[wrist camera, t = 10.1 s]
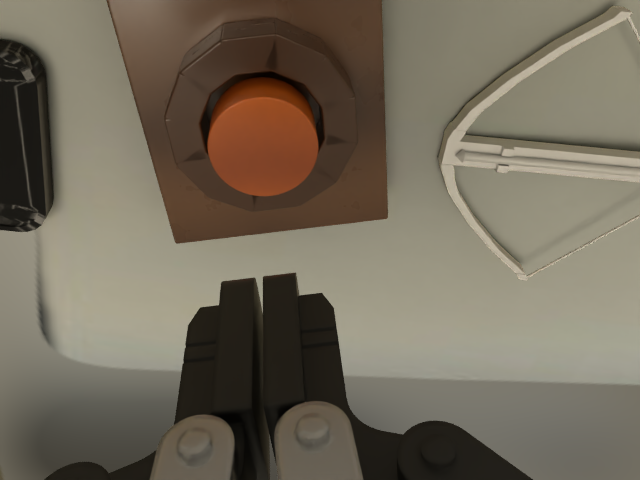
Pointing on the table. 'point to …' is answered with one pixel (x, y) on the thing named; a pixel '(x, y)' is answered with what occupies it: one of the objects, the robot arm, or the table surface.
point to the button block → (249, 62)
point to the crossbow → (531, 153)
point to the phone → (23, 140)
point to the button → (262, 137)
